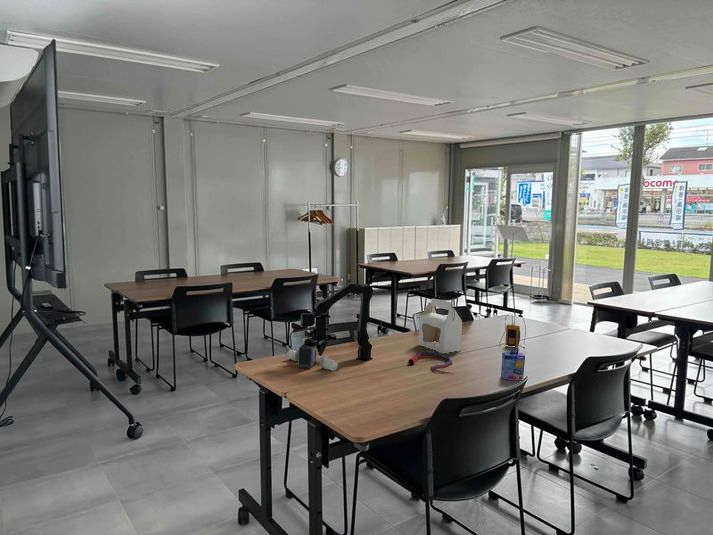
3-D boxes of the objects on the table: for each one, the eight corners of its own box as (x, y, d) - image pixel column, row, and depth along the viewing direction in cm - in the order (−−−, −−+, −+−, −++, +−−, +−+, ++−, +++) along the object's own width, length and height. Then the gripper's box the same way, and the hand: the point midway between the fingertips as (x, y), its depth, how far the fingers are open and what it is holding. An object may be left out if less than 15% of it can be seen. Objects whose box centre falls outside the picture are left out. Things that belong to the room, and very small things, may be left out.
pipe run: (338, 369, 254) (338, 357, 254) (330, 372, 250) (330, 360, 249) (294, 357, 273) (294, 346, 272) (286, 360, 268) (286, 349, 267)
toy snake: (475, 370, 262) (475, 360, 262) (449, 377, 247) (449, 366, 246) (426, 357, 284) (427, 348, 284) (399, 363, 269) (400, 353, 269)
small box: (310, 369, 253) (311, 348, 252) (298, 368, 255) (298, 347, 253) (316, 363, 264) (317, 343, 262) (304, 362, 265) (304, 342, 264)
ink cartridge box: (503, 380, 244) (504, 350, 242) (500, 376, 249) (501, 347, 248) (524, 380, 243) (526, 350, 242) (520, 377, 249) (522, 347, 247)
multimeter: (528, 346, 307) (530, 313, 305) (523, 349, 299) (525, 315, 297) (503, 342, 315) (505, 310, 313) (498, 345, 307) (500, 312, 305)
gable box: (461, 351, 293) (463, 302, 290) (443, 354, 286) (446, 304, 283) (435, 342, 312) (436, 296, 309) (418, 345, 305) (419, 298, 301)
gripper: (321, 320, 277) (320, 349, 279) (296, 326, 262) (296, 356, 264) (337, 324, 270) (336, 353, 272) (312, 330, 255) (312, 360, 257)
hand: (320, 355), depth 266 cm, fingers closed
